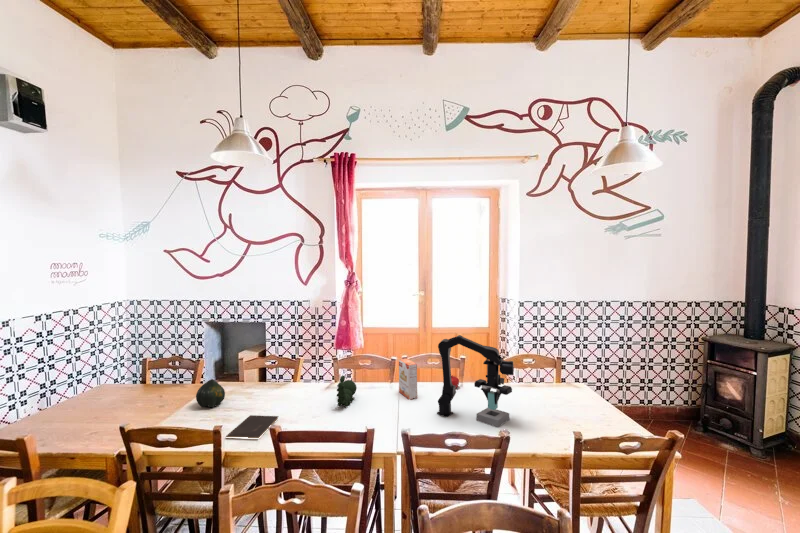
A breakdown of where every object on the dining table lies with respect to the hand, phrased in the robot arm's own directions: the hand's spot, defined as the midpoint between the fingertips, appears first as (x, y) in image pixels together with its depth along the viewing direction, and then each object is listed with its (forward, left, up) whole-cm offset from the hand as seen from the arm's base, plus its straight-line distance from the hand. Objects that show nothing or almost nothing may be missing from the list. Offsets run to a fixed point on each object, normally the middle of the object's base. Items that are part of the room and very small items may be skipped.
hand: (492, 403), depth 203 cm
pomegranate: (+26, +45, -9) cm, 53 cm away
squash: (-90, +129, -9) cm, 157 cm away
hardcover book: (-88, +82, -10) cm, 120 cm away
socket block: (0, 0, -9) cm, 9 cm away
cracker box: (-3, +56, -9) cm, 57 cm away
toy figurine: (-35, +75, -9) cm, 83 cm away
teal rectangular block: (0, 0, -3) cm, 3 cm away
